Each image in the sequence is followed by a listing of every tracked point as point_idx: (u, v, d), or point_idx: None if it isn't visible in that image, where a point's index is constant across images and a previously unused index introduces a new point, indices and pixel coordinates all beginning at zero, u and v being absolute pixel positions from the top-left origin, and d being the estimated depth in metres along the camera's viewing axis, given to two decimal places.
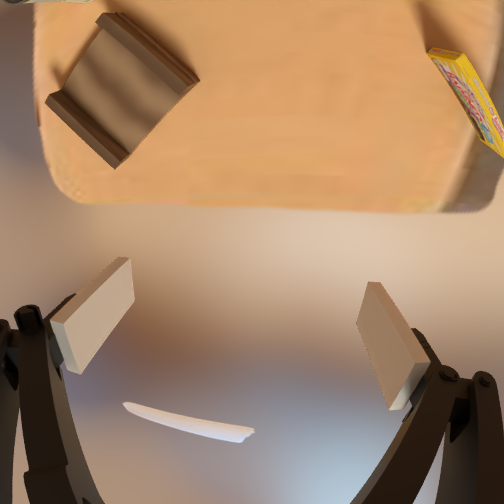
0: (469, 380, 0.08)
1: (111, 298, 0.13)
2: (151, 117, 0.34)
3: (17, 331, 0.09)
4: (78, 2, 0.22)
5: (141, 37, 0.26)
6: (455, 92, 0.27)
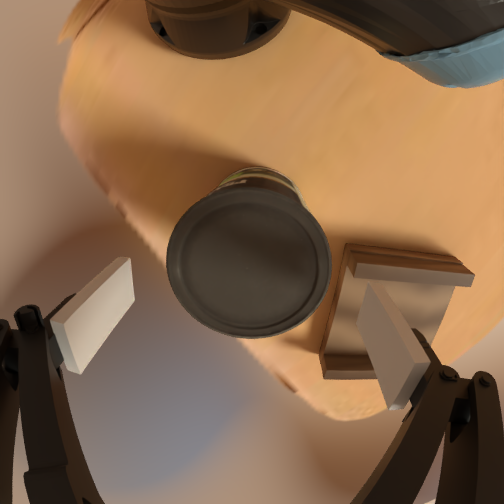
0: (469, 380, 0.08)
1: (111, 298, 0.13)
2: (438, 315, 0.32)
3: (17, 331, 0.09)
4: None
5: (403, 259, 0.28)
6: None
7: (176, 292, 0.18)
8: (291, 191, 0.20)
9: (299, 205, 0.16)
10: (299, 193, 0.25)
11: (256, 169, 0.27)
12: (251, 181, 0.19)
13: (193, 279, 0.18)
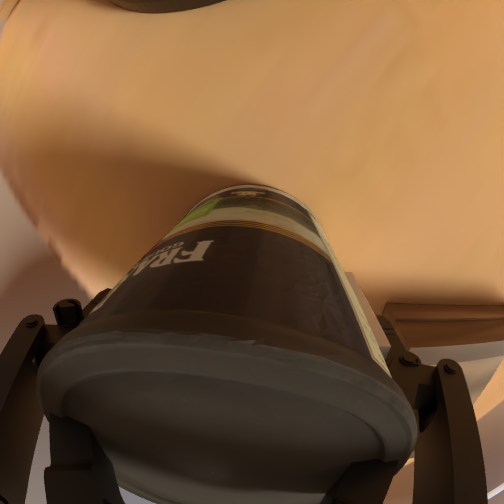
0: (433, 368, 0.09)
1: None
2: (486, 378, 0.20)
3: (52, 326, 0.09)
4: None
5: (465, 326, 0.16)
6: None
7: None
8: (323, 265, 0.08)
9: (372, 382, 0.04)
10: (327, 241, 0.13)
11: (246, 191, 0.15)
12: (221, 252, 0.07)
13: None
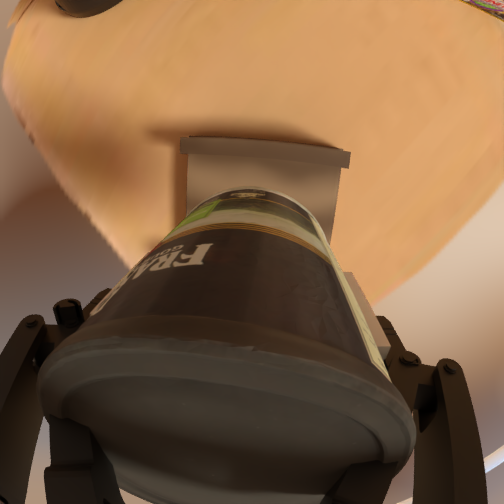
0: (433, 368, 0.09)
1: None
2: (324, 218, 0.30)
3: (52, 326, 0.09)
4: None
5: None
6: (478, 6, 0.18)
7: None
8: (323, 268, 0.08)
9: (371, 387, 0.04)
10: (326, 243, 0.13)
11: (246, 193, 0.15)
12: (220, 255, 0.07)
13: None
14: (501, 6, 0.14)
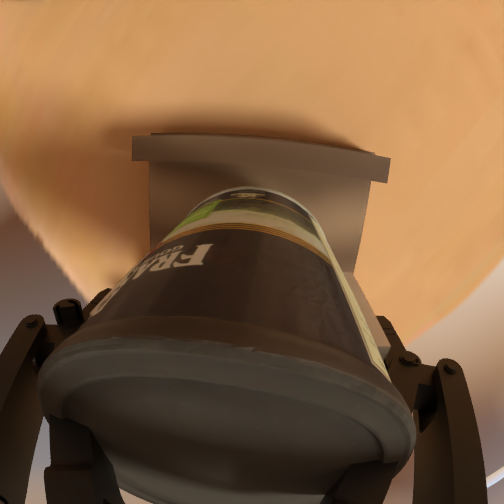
0: (433, 368, 0.09)
1: None
2: (345, 251, 0.21)
3: (52, 326, 0.09)
4: None
5: None
6: None
7: None
8: (323, 268, 0.08)
9: (371, 388, 0.04)
10: (326, 243, 0.13)
11: (246, 193, 0.15)
12: (220, 256, 0.07)
13: None
14: None
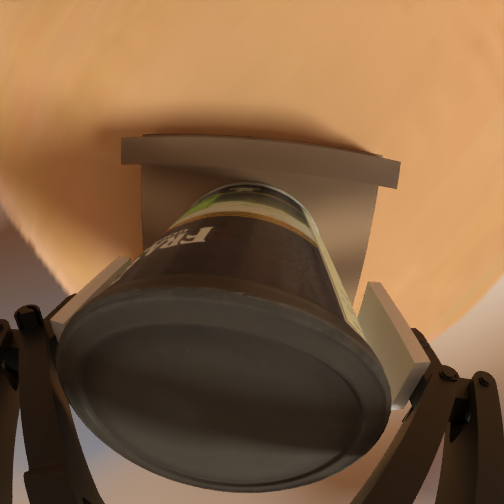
0: (469, 380, 0.08)
1: None
2: (350, 260, 0.20)
3: (17, 331, 0.09)
4: None
5: None
6: None
7: (97, 435, 0.08)
8: (308, 249, 0.10)
9: (340, 333, 0.05)
10: (316, 232, 0.15)
11: (243, 188, 0.16)
12: (219, 235, 0.08)
13: (117, 427, 0.08)
14: None
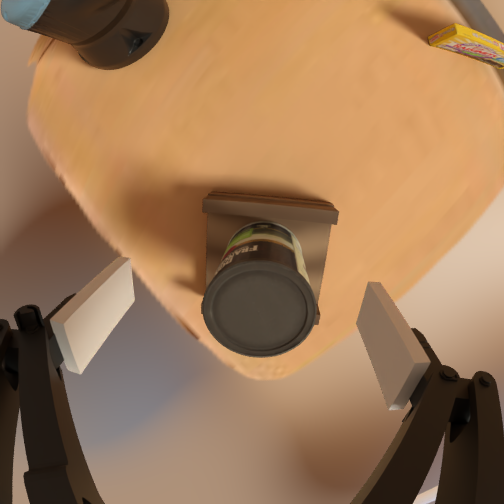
0: (469, 380, 0.08)
1: (111, 298, 0.13)
2: (318, 260, 0.38)
3: (17, 331, 0.09)
4: None
5: (257, 200, 0.35)
6: (465, 54, 0.26)
7: (209, 327, 0.26)
8: (289, 252, 0.28)
9: (294, 271, 0.24)
10: (296, 246, 0.33)
11: (263, 225, 0.35)
12: (261, 248, 0.27)
13: (221, 318, 0.26)
14: (487, 54, 0.23)
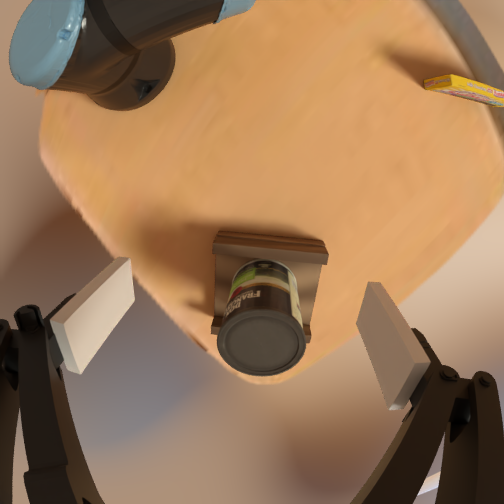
0: (469, 380, 0.08)
1: (111, 298, 0.13)
2: (310, 290, 0.45)
3: (17, 331, 0.09)
4: None
5: (259, 241, 0.42)
6: (459, 96, 0.32)
7: (221, 354, 0.33)
8: (286, 295, 0.35)
9: (289, 317, 0.30)
10: (292, 284, 0.40)
11: (264, 264, 0.41)
12: (263, 294, 0.34)
13: (231, 348, 0.33)
14: (480, 98, 0.29)
